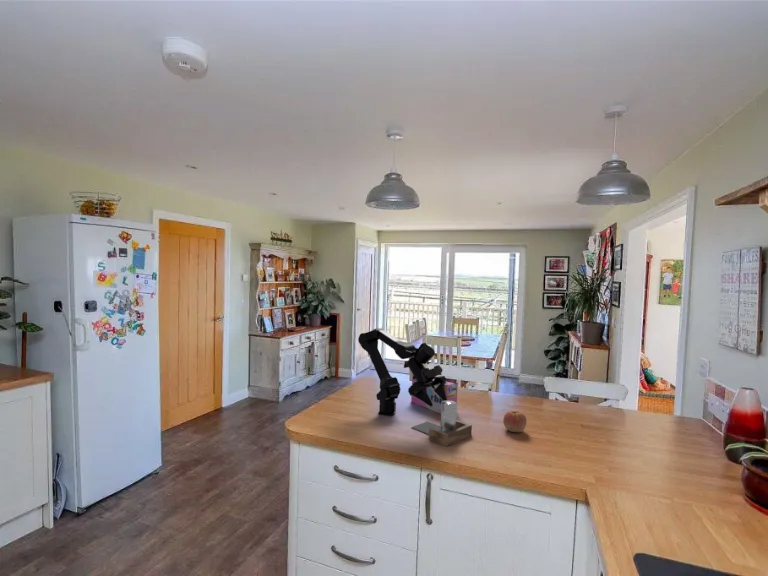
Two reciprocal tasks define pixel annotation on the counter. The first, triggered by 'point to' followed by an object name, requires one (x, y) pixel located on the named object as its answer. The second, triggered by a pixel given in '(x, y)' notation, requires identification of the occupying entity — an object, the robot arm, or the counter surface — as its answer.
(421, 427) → the rubber mat
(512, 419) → the apple
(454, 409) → the steel tin
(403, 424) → the counter surface
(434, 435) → the walnut rack
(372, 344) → the robot arm
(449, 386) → the gum box
